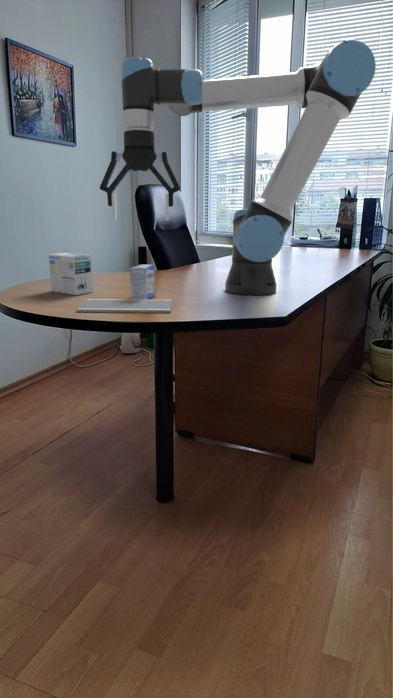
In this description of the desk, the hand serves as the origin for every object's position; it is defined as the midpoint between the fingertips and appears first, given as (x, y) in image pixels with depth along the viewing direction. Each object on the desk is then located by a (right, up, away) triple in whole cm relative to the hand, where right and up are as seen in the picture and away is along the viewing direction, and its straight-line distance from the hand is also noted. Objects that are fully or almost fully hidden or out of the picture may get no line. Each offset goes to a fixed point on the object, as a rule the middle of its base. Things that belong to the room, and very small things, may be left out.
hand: (141, 220), depth 124 cm
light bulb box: (-21, -17, +13) cm, 31 cm away
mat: (-3, -23, -5) cm, 24 cm away
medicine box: (0, -20, +6) cm, 21 cm away
